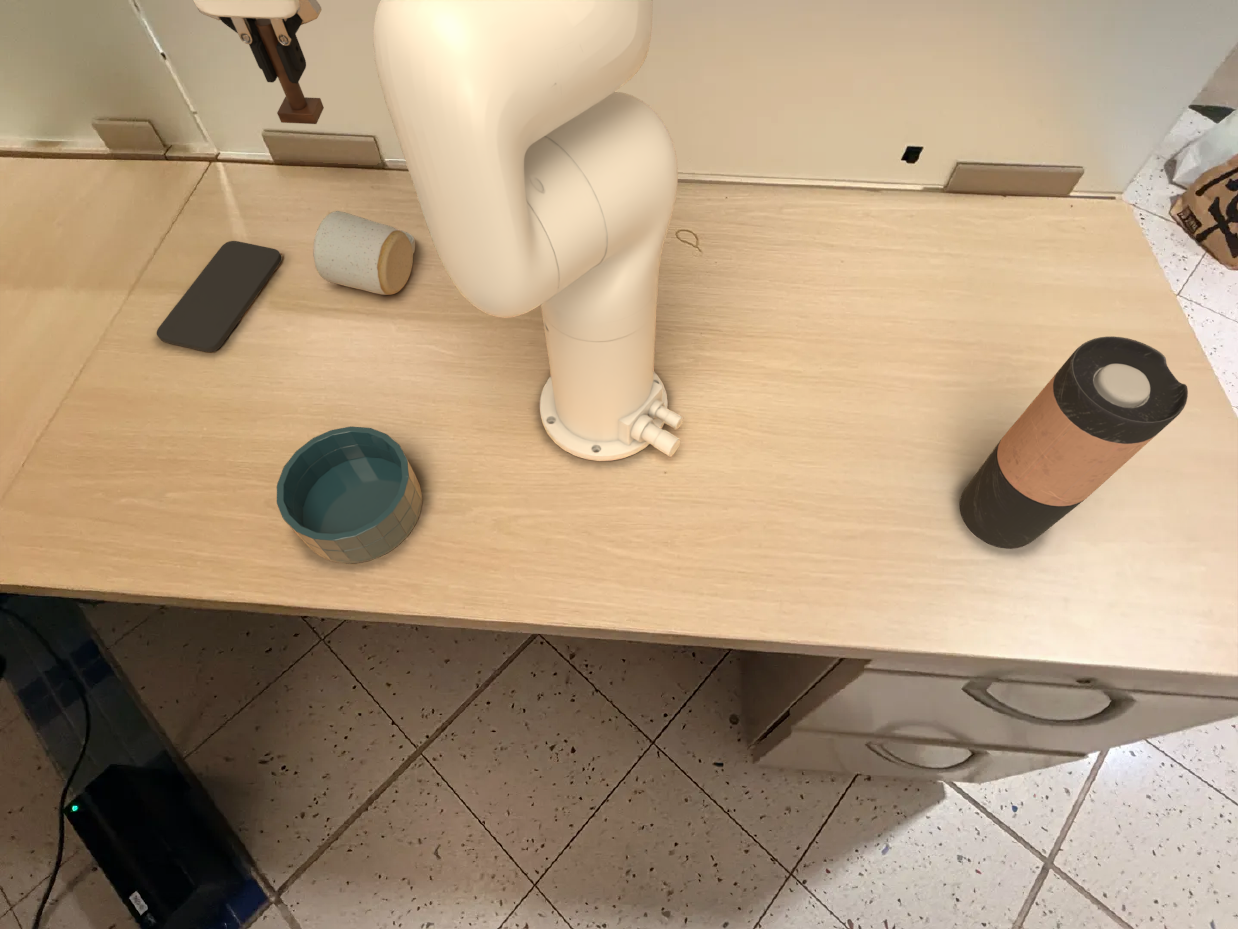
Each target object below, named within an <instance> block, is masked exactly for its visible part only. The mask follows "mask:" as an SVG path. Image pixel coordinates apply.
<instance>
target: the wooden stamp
mask: <svg viewBox="0 0 1238 929" xmlns="http://www.w3.org/2000/svg"><path fill="white" fill-rule="evenodd" d="M255 25H256V27H257V29H258V32H259V34H260V36H261V39H262V41H263V43H264V46H265V48H266V51H267V53H268V55H269V58H270V60H271V62H272V65H273V67H274V69H275V72H276V74H277V79H278V81H279V84H280V86H281V88H282V90H283V93H284V95H285V96H284V98H283V100H282V102H281V105H280V106H279V108H278V110H277V111H276V114H277V116H278V118H279V121H280V123H283V124H303V125H304V124H305V125H307V124H308V125H317V124H318V122H319V119H320V117H321V115H322V114H323V111H324V103H323V102H322V98H321V97H305V94H304V92H303V90H302V87H301V85H300V83H299V82H300V81H299V82H298V83H297V84H296V83H291V82H290V81H289V79H288V76H287V74H286V72H285V69H284V67H283V64H282V62H281V59H280V57H279V55H278V52H277V50H276V46H277V44H278V42H279V41H278V39H277V36H276V34H275V31H274V29H273V26H272V24H271V21H270V19H262V18H258V19H257V20H256V21H255Z"/></svg>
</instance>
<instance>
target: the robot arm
mask: <svg viewBox="0 0 1238 929" xmlns="http://www.w3.org/2000/svg"><path fill="white" fill-rule="evenodd" d="M192 1H193V3H194V5H195V6H196V7H197V10H198V11H199V13H201V15H204V16H206V17H209V18H212V19H213V20H216V21H221V22H222V23H223V24H224V25H225V26H226V27H228V28H229V29H231V30H232V31H233V32H235V33H236V34H237V35H238V37H239V39H240V40H241V42H242V43H244V44H246V45H248V46H249V48H250V50H251V52H252V55H253V57H254V60H255V62H256V64H257V66H258V68H259V69H260V70H261V72H262V73H263V76H264V78H265V81H266V82H267V83H275V82H276V81H277V79H278V77H277V74H276V72H275V69H274V67H273V65H272V62H271V60H270V58H269V55H268V53H267V51H266V48H265V46H264V43H263V41H262V39H261V36H260V34H259V32H258V29H257V27H256V25H255V21H256V20H257V19H258V18H262V19H270V21H271V24H272V26H273V29H274V31H275V34H276V36H277V39H278V41H279V42H278V44H277V46H276V50H277V52H278V55H279V57H280V59H281V62H282V64H283V67H284V69H285V72H286V74H287V76H288V79H289V81H290V82H291V83H296V84H297V83H298V82H300V80H301V78H302V76H303V74H304V72H305V70H306V68H307V61H306V58H305V56H304V52H303V49H302V47H301V45H300V42H299V39H298V37H297V32H298V31H299V30H300V27H302V26H303V25H306V24H308V23H310V22H313V21H315V20H317V19H318V18H319V16H320V14H321V12H322V6H321V4H320V3H319V2H318V0H192ZM653 3H654V2H653V0H380V1H379V3H378V5H377V8H376V11H375V16H374V22H373V32H372V33H373V36H372V37H373V38H372V47H373V55H374V56H373V57H374V64H375V69H376V73H377V78H378V80H379V84H380V88H381V91H382V95H383V98H384V101H385V105H386V108H387V111H388V113H389V114H388V115H389V117H390V121H391V122H392V126H393V128H394V129H393V130H394V131H395V135H396V138H397V140H398V144H399V146H400V149H401V153H402V156H403V159H404V161H405V165H406V167H407V170H408V173H409V176H410V179H411V182H412V185H413V188H414V191H415V194H416V197H417V201H418V203H419V206H420V209H421V212H422V215H423V218H424V221H425V224H426V227H427V229H428V231H429V232H428V233H429V235H430V238H431V241H432V243H433V246H434V248H435V251H436V253H437V255H438V257H439V260H440V262H441V264H442V267H444V270H445V272H446V274H447V275H448V277H449V278H450V281H451V282H452V284H453V285H454V286H455V288H456V289H457V290H458V291H459V293H460V294H461V295H462V297H464V299H465V300H467V301H468V303H470V304H471V305H472V306H473V307H475V309H478V310H479V311H481V312H482V313H483V314H486V315H489V316H493V317H496V318H514V317H519V316H523V315H525V314H527V313H529V312H531V311H533V310H535V309H537V308H538V307H540V310H541V317H542V325H543V330H544V331H543V332H544V337H545V338H544V339H545V344H546V352H547V359H548V364H549V371H550V376H549V377H548V378H547V380H546V382H545V384H544V386H543V387H542V390H541V393H540V397H539V413H540V418H541V422H542V426H543V428H544V429H545V432H546V434H547V435H548V437H549V438H550V439H551V440H552V441H553V442H554V444H555V445H557V446H558V447H560V449H561V450H563V451H565V452H567V453H569V454H570V455H573V456H575V457H578V458H581V459H584V460H589V461H596V462H610V461H617V460H622V459H625V458H627V457H631V456H633V455H636V454H637V453H639V452H641V451H642V450H644V449H646V448H647V447H648V446H649V445H651V446H653V448H655V449H656V450H658V451H660V452H661V453H662V454H665V455H666V456H668V457H670V458H671V457H673V456H674V455H675V453H677V451H678V449H679V447H680V445H681V443H682V442H681V441H682V440H681V438H680V437H678V436H676V435H675V434H673V433H671V432H670V431H668V430H666V429H663V427H664V425H667V426H669V427H671V428H672V429H674V430H675V431H676V430H678V429H680V427H682V424H683V422H684V419H685V418H684V416H683V415H681V414H680V413H677V411H674V410H671V409H669V408H668V404H669V401H668V394H667V391H666V388H665V385H664V383H663V381H662V380H661V378H660V376H659V375H658V374H657V372H655V371H654V368H655V348H656V346H655V345H656V343H655V342H656V328H657V326H656V325H657V305H658V297H659V296H658V294H659V280H660V268H661V267H660V266H661V261H662V260H661V258H662V255H663V249H664V245H665V240H666V237H667V234H668V231H669V227H670V224H671V220H672V217H673V213H674V209H675V205H676V200H677V195H678V194H677V193H678V187H679V186H678V185H679V184H678V183H679V182H678V181H679V167H678V165H679V164H678V158H677V151H676V148H675V144H674V141H673V138H672V136H671V133H670V131H669V129H668V127H667V126H666V124H665V122H664V121H663V119H662V118H661V116H660V115H659V113H657V112H656V110H655V109H653V107H652V106H650V104H648V103H646V102H645V101H643V100H642V99H640V98H638V97H637V96H634V95H632V94H629V93H627V92H626V93H625V92H621V91H618V90H619V89H620V88H622V87H623V86H624V85H625V84H627V83H628V82H629V81H631V80H632V79H633V77H634V76H636V74H637V73H638V72H639V71H640V69H641V68H642V66H643V64H644V63H645V62H646V58H647V56H648V53H649V50H650V45H651V39H652V30H653Z"/></svg>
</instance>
